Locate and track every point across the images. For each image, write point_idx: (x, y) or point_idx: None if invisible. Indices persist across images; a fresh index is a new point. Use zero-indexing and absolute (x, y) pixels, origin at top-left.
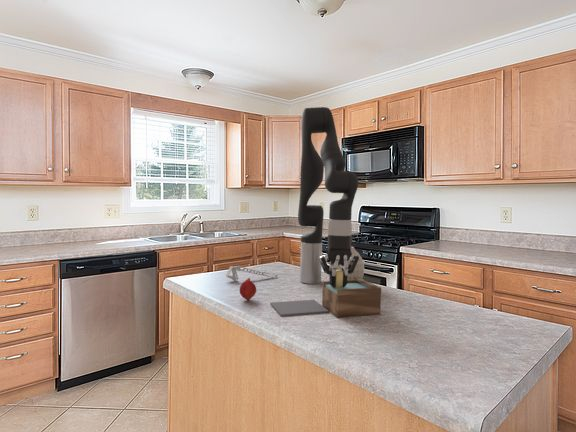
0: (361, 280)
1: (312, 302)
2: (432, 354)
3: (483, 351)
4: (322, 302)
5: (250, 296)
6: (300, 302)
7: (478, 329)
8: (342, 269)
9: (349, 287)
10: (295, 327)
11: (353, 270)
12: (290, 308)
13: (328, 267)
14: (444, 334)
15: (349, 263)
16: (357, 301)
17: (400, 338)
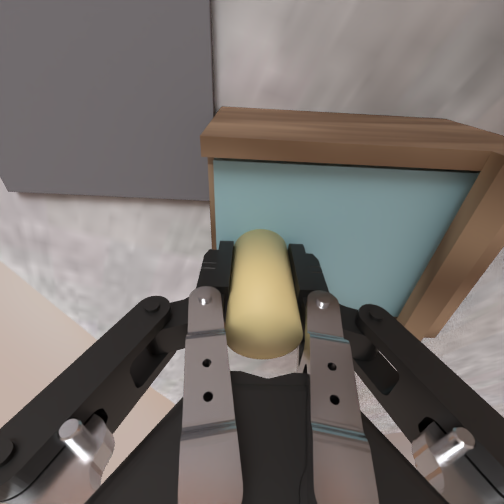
0: (451, 256)
1: (178, 38)
2: None
3: (376, 411)
4: (219, 110)
5: None
6: (101, 11)
7: (483, 372)
8: (312, 330)
9: (324, 263)
10: (76, 282)
11: (375, 362)
12: (43, 121)
13: (147, 388)
14: None
15: (413, 376)
16: None
17: (296, 367)
